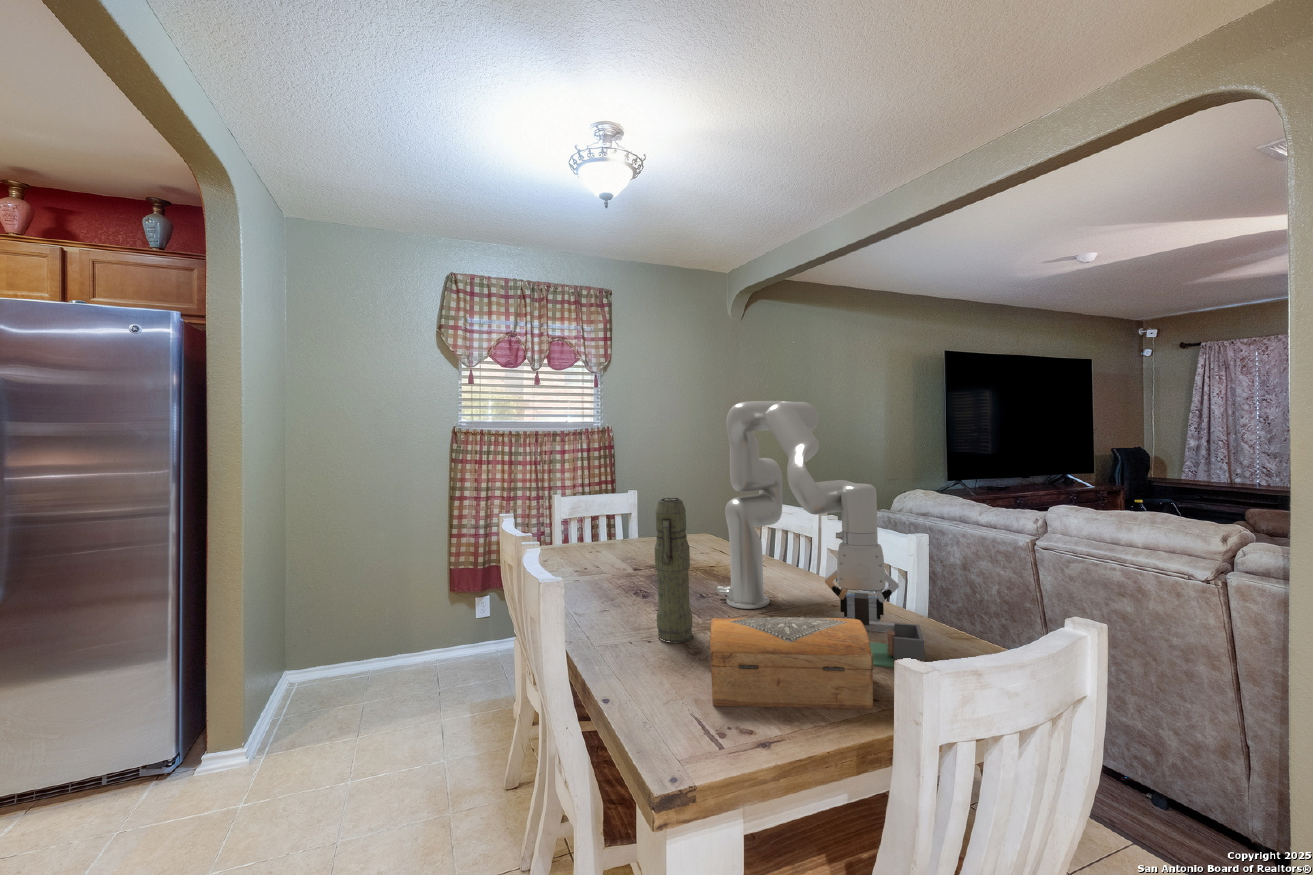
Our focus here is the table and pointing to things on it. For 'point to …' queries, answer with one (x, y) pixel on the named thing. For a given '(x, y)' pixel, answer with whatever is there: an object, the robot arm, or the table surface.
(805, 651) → the wooden box
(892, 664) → the pitch mat
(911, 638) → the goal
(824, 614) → the table surface
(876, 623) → the grey brown blocky piece
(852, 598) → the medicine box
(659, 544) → the thermos
